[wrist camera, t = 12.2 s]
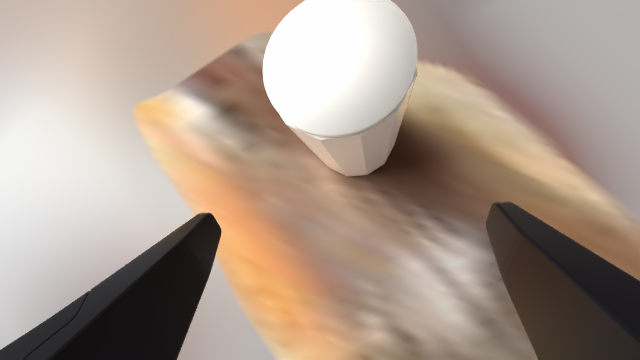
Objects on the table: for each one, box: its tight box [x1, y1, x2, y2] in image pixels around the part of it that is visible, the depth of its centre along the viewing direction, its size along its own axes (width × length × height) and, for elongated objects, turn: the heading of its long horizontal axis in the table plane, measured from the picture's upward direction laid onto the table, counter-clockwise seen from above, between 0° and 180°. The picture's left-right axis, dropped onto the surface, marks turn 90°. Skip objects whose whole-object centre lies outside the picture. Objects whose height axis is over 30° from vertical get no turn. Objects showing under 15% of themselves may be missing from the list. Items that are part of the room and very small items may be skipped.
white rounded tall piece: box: [263, 0, 417, 176], centre depth 16 cm, size 7×7×12 cm
